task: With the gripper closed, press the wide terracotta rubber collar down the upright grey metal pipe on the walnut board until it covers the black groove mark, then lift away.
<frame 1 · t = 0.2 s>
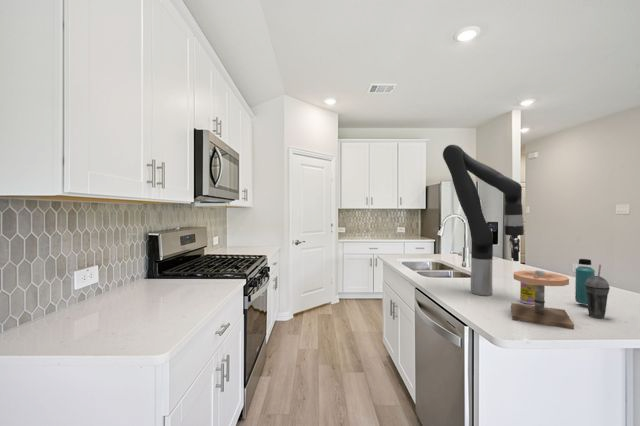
hand: (515, 259, 143), 18 cm above the countertop, tool pointing down, fingers open, 8 cm apart
collar: (539, 277, 119), point 15 cm above the countertop, slide at 9.0 cm
supplement bottle: (529, 303, 137), on the countertop
pipe stand: (539, 316, 119), on the countertop
beverage cup: (596, 317, 119), on the countertop
beverage bottle: (584, 306, 132), on the countertop
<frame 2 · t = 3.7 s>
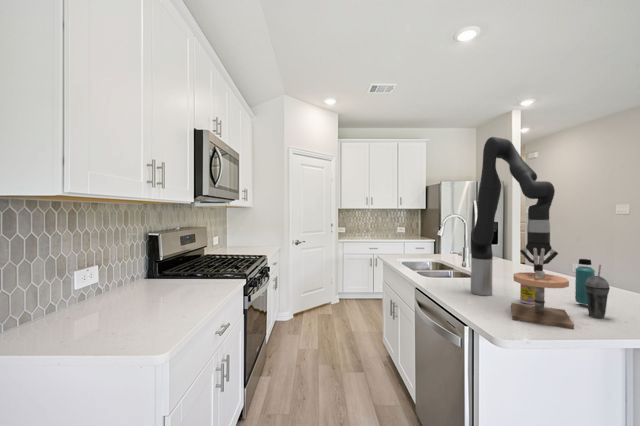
hand: (538, 273, 125), 15 cm above the countertop, tool pointing down, fingers closed
collar: (539, 279, 119), point 14 cm above the countertop, slide at 8.3 cm, touching gripper
everything else where it was.
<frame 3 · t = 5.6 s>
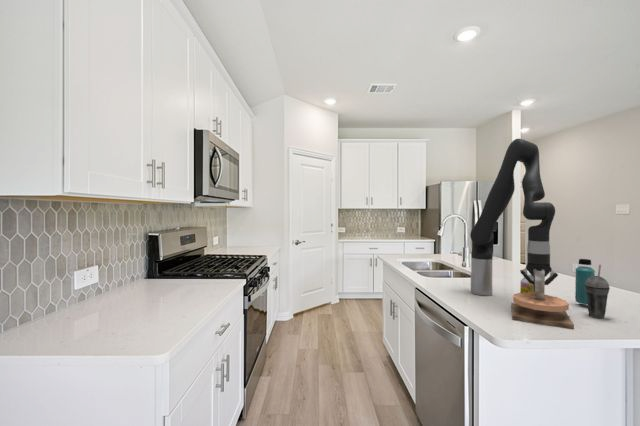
hand: (538, 294, 125), 7 cm above the countertop, tool pointing down, fingers closed
collar: (539, 301, 119), point 6 cm above the countertop, slide at -0.2 cm, touching gripper
everything else where it was.
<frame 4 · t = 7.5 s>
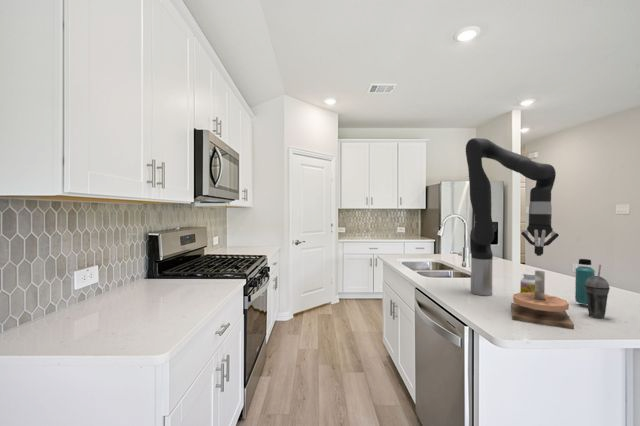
hand: (538, 255, 126), 23 cm above the countertop, tool pointing down, fingers closed
collar: (539, 301, 119), point 6 cm above the countertop, slide at -0.1 cm
everything else where it was.
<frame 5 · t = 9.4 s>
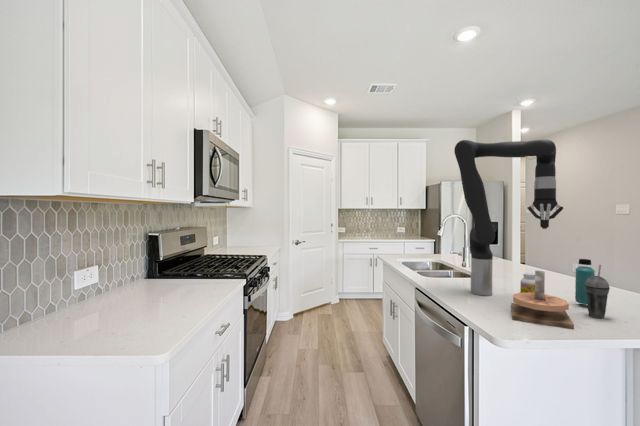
hand: (544, 228, 132), 33 cm above the countertop, tool pointing down, fingers closed
nothing on the countertop moved.
at the end: collar slide at -0.1 cm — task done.
